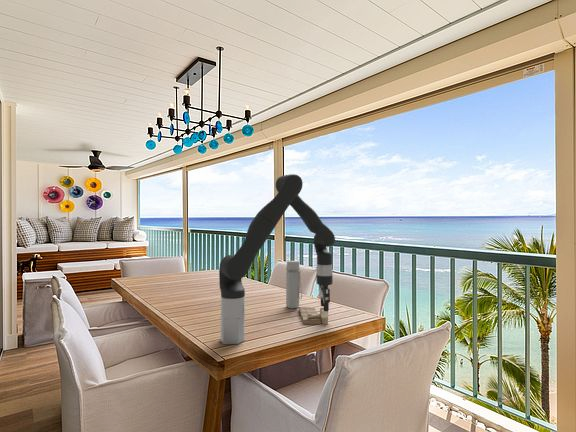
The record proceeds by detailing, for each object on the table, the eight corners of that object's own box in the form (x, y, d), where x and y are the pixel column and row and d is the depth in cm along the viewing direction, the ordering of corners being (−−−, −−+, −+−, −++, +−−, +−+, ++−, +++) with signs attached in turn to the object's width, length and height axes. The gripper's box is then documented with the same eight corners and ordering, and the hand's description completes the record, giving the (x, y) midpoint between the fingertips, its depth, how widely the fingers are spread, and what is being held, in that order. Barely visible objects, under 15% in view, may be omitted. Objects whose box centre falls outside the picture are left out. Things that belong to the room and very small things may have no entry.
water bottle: (283, 307, 176) (283, 261, 177) (290, 304, 183) (290, 260, 184) (298, 310, 172) (298, 262, 172) (304, 306, 179) (305, 261, 179)
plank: (320, 324, 149) (320, 319, 149) (303, 324, 149) (303, 319, 149) (314, 310, 171) (314, 306, 171) (298, 310, 171) (299, 306, 171)
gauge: (328, 323, 150) (328, 310, 150) (308, 323, 149) (308, 310, 149) (326, 320, 155) (326, 307, 155) (307, 320, 154) (307, 307, 154)
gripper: (335, 276, 146) (335, 312, 146) (329, 271, 160) (329, 304, 160) (318, 276, 145) (318, 313, 145) (314, 271, 160) (314, 304, 159)
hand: (324, 308), depth 152 cm, fingers open, 8 cm apart
